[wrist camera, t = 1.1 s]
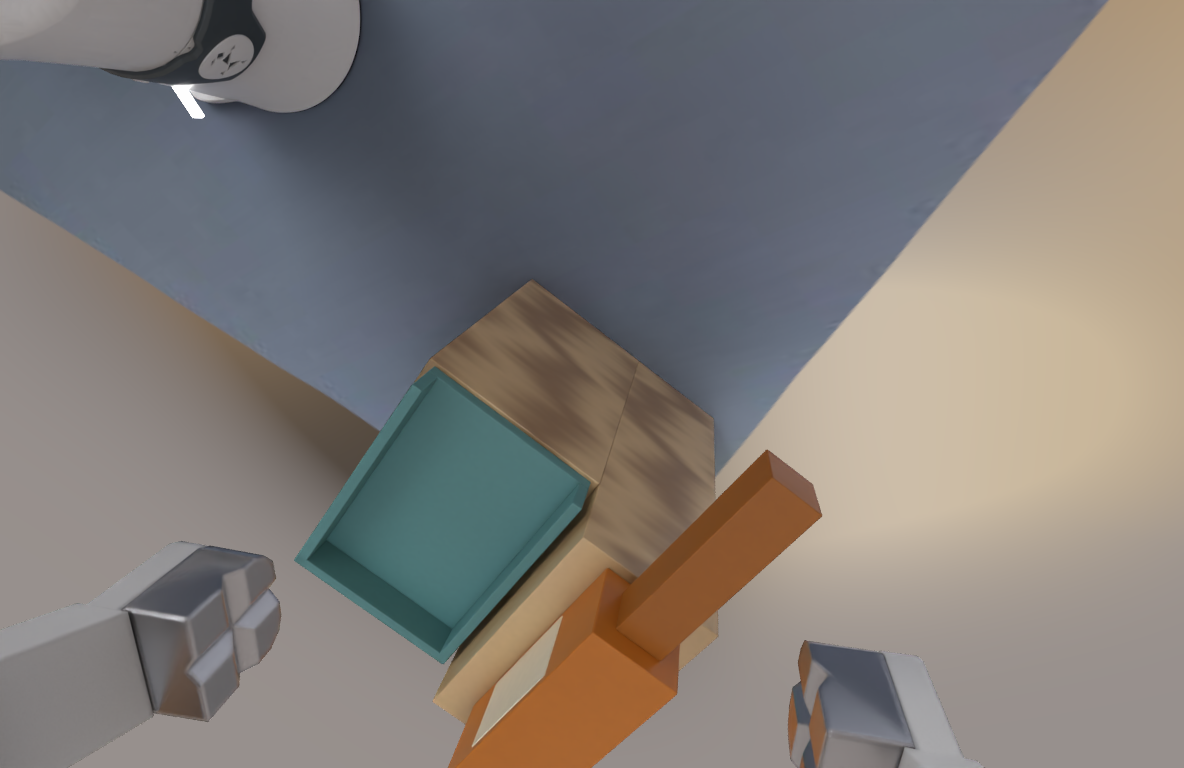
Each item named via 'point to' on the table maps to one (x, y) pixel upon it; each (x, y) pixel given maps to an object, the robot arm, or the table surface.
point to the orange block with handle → (633, 633)
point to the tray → (442, 516)
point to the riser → (579, 469)
